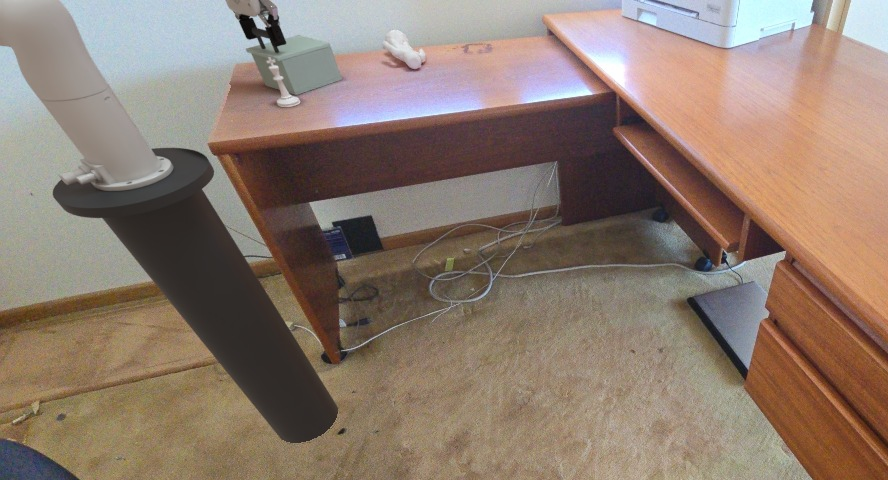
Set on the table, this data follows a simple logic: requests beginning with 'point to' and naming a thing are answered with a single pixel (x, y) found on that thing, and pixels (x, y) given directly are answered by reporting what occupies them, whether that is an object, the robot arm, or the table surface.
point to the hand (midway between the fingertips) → (266, 41)
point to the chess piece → (282, 88)
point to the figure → (403, 49)
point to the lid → (285, 46)
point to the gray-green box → (301, 71)
